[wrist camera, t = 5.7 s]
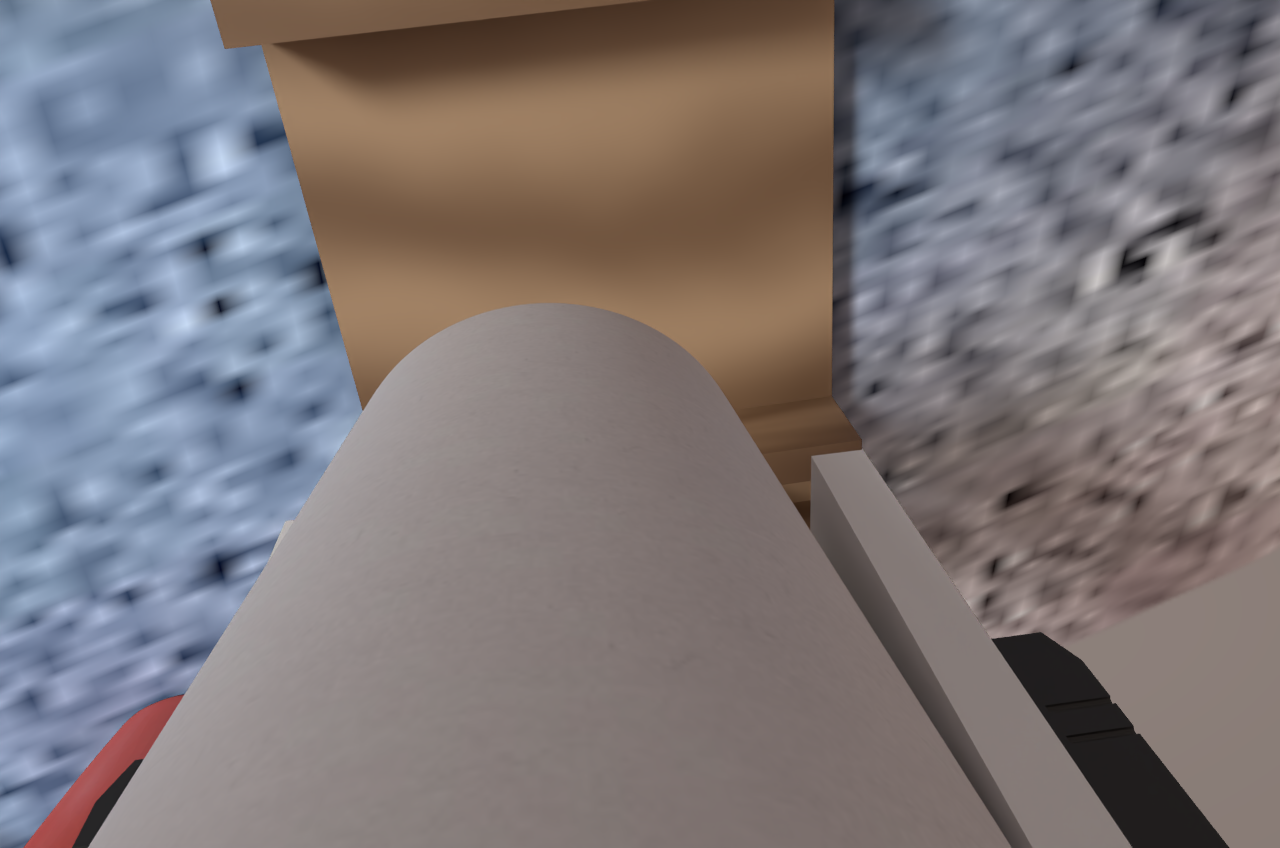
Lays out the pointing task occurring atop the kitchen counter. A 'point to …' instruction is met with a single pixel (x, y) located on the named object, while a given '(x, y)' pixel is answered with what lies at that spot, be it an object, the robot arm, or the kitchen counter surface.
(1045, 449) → the kitchen counter surface
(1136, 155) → the kitchen counter surface
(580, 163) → the dish rack
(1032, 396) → the kitchen counter surface
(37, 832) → the flower pot
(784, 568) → the coffee cup
